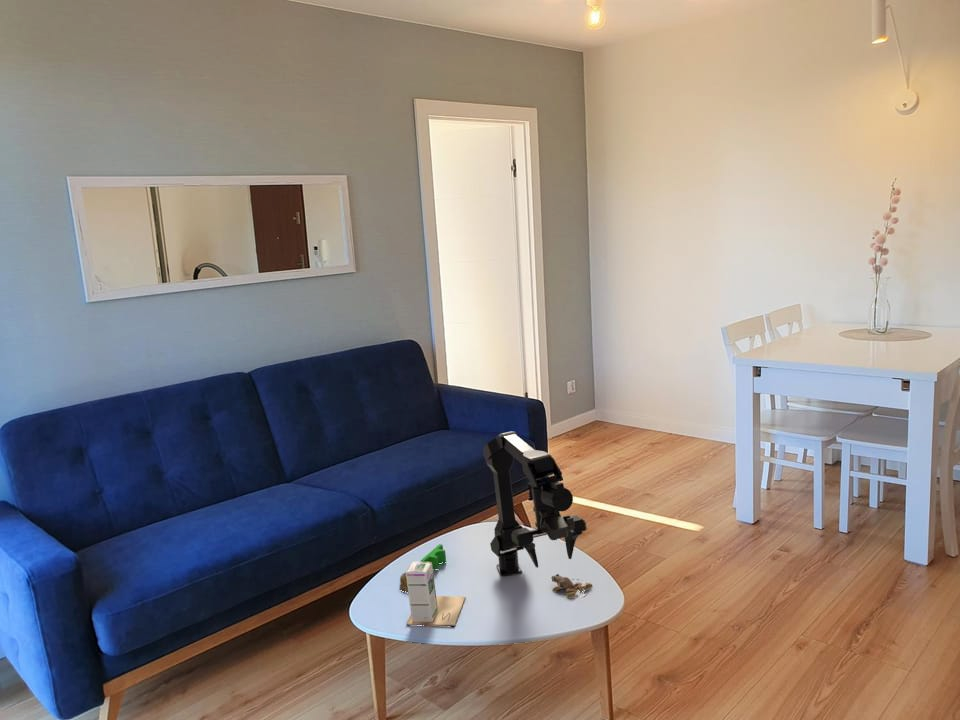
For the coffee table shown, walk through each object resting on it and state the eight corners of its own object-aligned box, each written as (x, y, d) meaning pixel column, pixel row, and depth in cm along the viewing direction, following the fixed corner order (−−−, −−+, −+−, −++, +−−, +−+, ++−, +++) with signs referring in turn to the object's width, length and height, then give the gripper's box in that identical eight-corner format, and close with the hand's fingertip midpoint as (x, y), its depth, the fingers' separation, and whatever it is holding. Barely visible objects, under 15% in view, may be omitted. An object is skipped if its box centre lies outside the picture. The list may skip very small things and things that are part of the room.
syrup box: (432, 622, 193) (427, 571, 190) (411, 622, 195) (405, 571, 192) (438, 611, 199) (432, 561, 196) (417, 610, 200) (411, 560, 197)
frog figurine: (541, 597, 203) (540, 584, 203) (560, 577, 213) (559, 564, 212) (579, 605, 197) (578, 592, 196) (597, 584, 207) (596, 572, 206)
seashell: (416, 583, 208) (390, 576, 213) (417, 597, 208) (391, 589, 214) (439, 570, 216) (413, 563, 221) (440, 584, 216) (414, 576, 222)
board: (406, 625, 194) (406, 623, 194) (420, 597, 208) (420, 595, 207) (454, 627, 192) (454, 624, 191) (465, 598, 205) (465, 596, 205)
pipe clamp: (432, 576, 220) (431, 562, 219) (422, 574, 222) (420, 560, 221) (451, 559, 229) (449, 545, 228) (440, 557, 231) (439, 543, 230)
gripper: (521, 518, 179) (530, 581, 180) (591, 502, 184) (600, 563, 185) (506, 509, 190) (515, 568, 191) (573, 493, 195) (581, 551, 196)
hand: (553, 563), depth 190 cm, fingers open, 9 cm apart
